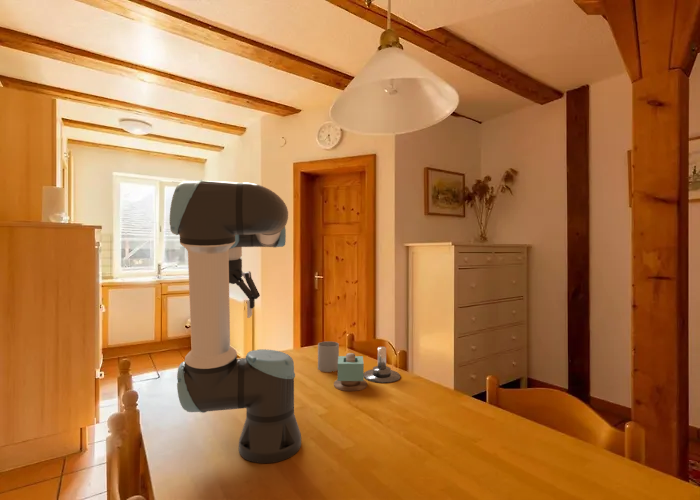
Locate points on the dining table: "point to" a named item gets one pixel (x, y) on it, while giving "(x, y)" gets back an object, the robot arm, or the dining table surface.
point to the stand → (350, 384)
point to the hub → (381, 370)
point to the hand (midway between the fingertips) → (231, 314)
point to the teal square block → (350, 369)
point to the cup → (328, 356)
